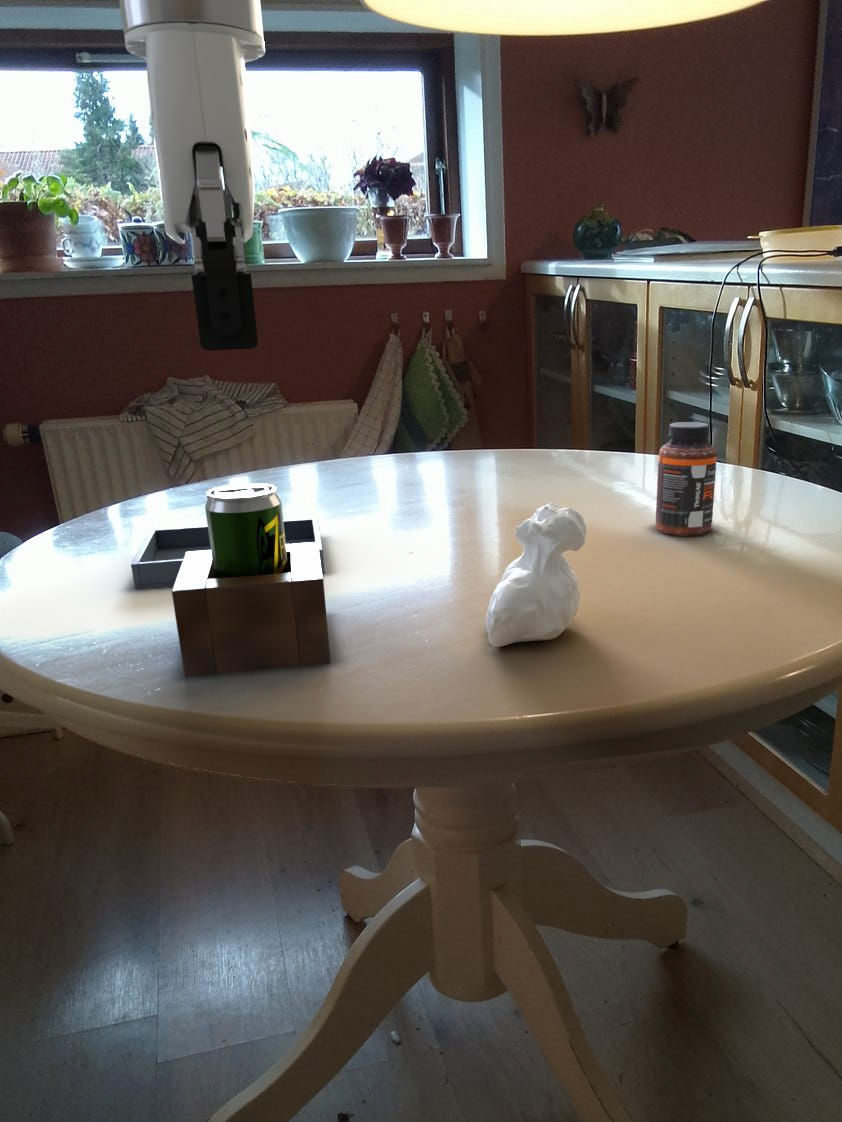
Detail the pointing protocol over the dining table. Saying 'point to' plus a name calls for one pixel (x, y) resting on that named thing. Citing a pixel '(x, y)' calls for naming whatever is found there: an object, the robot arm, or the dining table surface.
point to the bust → (538, 580)
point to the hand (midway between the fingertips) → (230, 344)
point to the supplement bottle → (686, 481)
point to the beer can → (246, 530)
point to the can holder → (251, 615)
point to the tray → (170, 545)
